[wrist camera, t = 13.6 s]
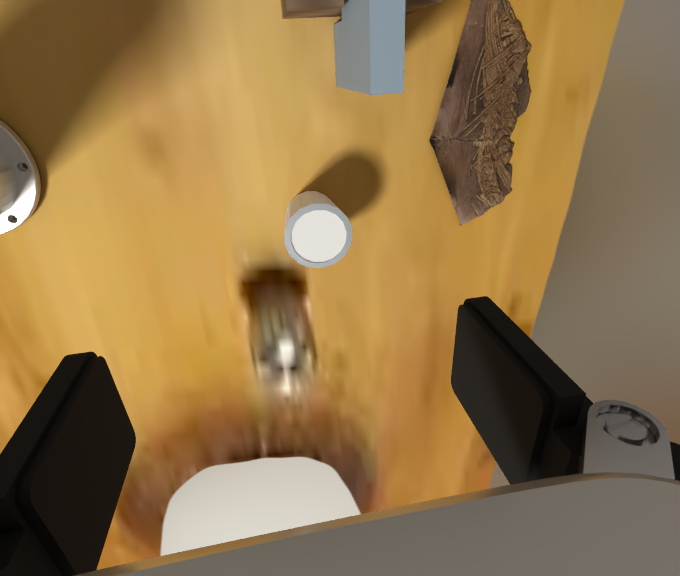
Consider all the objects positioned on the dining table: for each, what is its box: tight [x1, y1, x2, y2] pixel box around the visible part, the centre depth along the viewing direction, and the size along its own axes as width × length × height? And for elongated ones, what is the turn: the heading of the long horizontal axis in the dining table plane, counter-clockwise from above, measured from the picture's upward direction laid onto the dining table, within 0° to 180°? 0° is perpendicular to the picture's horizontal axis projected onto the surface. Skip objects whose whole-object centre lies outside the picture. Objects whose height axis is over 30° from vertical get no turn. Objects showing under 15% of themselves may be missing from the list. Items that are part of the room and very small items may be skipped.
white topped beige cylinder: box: [285, 191, 353, 268], centre depth 44 cm, size 7×7×7 cm
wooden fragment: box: [430, 0, 531, 225], centre depth 45 cm, size 26×11×1 cm, turn 1°
